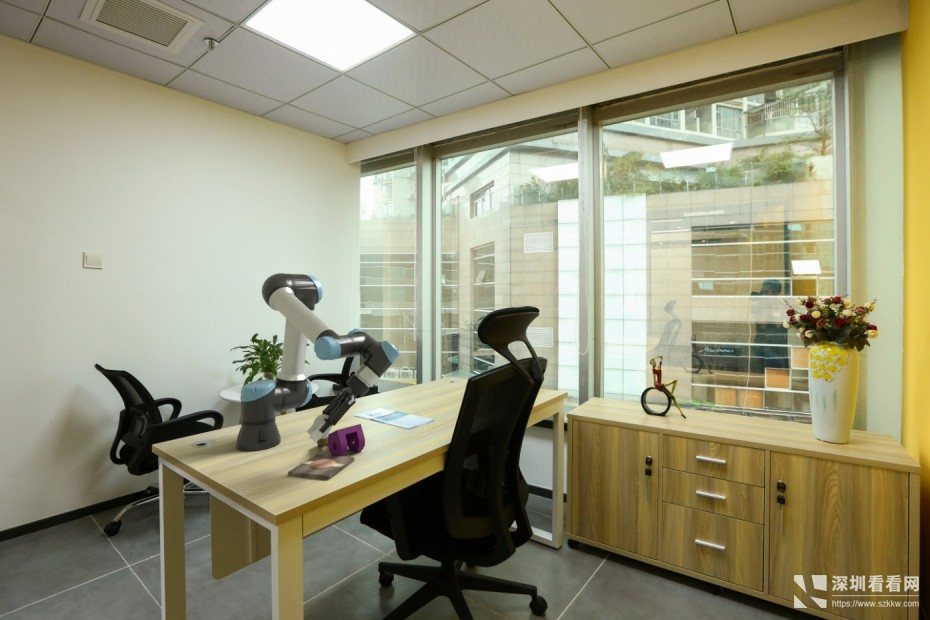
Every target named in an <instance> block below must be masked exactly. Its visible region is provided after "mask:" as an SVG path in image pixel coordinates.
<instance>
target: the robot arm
mask: <svg viewBox="0 0 930 620" xmlns="http://www.w3.org/2000/svg"><path fill="white" fill-rule="evenodd" d="M323 293H324V292H323V288H322V285H321V282H320V281H319V279H318V278H317V277H315V276H314V275H309V274H303V273H301V274H300V273H283V272H278V273H274V274H272V275H270V276H268V277H267V278H266V279H265V280H264V282H263V283H262V286H261V296H262V299H263V300H264V302H265V303H266V305H268V307H269V308H271V309H272V310H273V311H276V312H279V314H281V315H282V316H283V317H284V318H285V325H284V337H283V346H282V357H281V366H280V367H281V368H280V371H279V372H278V373H277V374H276V376H275V380H274V379H269V378H268V379H261V380H260V379H259V380H254V381H251V382H248V383H246V384H244V385H243V386H242V387H241V391H240V397H239V400H240V421H241V422H240V423H241V425H240V428H239V432H238V434H237V439H236V441H235V448H236V449H237V450H239V451H244V452H247V451H249V452H252V451H261V450H266V449H270V448H274V447H276V446H277V445H278V446H279V444H281V442H282V441H281V438H282V437H281V434H280V431H279V428H278V425H277V422H276V413H279V412H280V413H281V412H284V411H289V410H292V409H298V408H301V407H304V406H305V405H306V404H308V403H309V401H311V398H312V396H313V395H312V394H313V385H312V382H311V381H310V380H309V379H308V375H307V374H306V373H305V366H306V365H305V364H306V356H307V355H306V354H307V345H308V340H309V341H310V342H311V343H312V344H313V350H314V351H313V352H314V353H315V356H316V358H317V359H319V360H321V361H335V360H339V359H345V358H352V357H361V358H362V359H363V360H364V362H363V363H362V364H361V365H360V366H359V367H358V368H357V369H356V370H355V371H354V374H352V375H350V377H349V378H348V379H347V380H346V381H345V384H346V385H348V388H346V389H342V390H340V392H339V393H338V394H337V395H336V396H335V398H334V399H332V401H331V402H329V404H328V405H327V406H326V407H325V408H324V409H322V411H321V415H322V414H325V415H328V416H329V417H328V418H327V419H326V418H324V421H323V422H322V423H321V425H320V426H319V427H318V428H317V429H316V430H315V429H314V426H313V424H312V425H311V426H310V427H309V428H308V429H307V430H306V433H307V434H309V439H310V440H312V441H313V442H314V443H317V441H318V440H319V439H320V438H321V437H322V436H323V435H324V433H325V432H326V431H327V430H328V429H329V428H330V427H331V426H332V427H335V426H336V425H337V424H338V422H340V420H341V419H342V418H343V417H344V416H345V415H346V414H347V412H348V411H349V410H350V408H351V407H353V406H355V404H356V403H357V401H356V398H357V396H360V397H362V398H363V397H365V396H366V394H367V393H368V392H369V391H370V387H371V388H372V387H373V386H374V385H375V384H378V382H379V380H380V378H381V377H382V376H383V375H384V374H385V373H386V372H387V371H388V369H390V368H391V366H393V365H394V363H395V362H396V361H397V359H398V358H399V357H400V354H401V353H400V351H399V349H398V348H397V347H396V346H395V345H394V344H392V342H390V341H388V340H387V339H386V340H385V339H384V340H383V341H382V342H381V343H380V342H379V341H378V340H376V339H375V338H373V337H372V336H371V335H370V334H369V333H367V332H366V331H364V330H362V328H361V329H360V328H353V329H352V330H350V331H349V332H347V334H345V335H343V334H342V335H339V334H338V333H337V332H336V331H335V330H333V328H331V327H330V326H329V325H328V324H327V323H326V322H325V321H323V320H322V319H321V318H320V317H319V316H318V315H317V314H315V313H314V311H315V306H316V305H318V304H319V303H320V302H321V301H322V298H323Z"/></svg>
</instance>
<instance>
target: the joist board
mask: <svg viewBox="0 0 930 620" xmlns="http://www.w3.org/2000/svg"><path fill="white" fill-rule="evenodd" d="M354 462H355V457H354V456H346V455H345V456H332V455H331V454H320V453H319V454H315V455H313V456H312V457H310V458H308V459H306V460H304V461H303V462H301V463H299V465H297V466H295V467H294V468H292V469H290V470H289V471H288V472H287V476H288V477H297V478H307V479H317V480H327V481H330V480H331V479H332V478H334V477H335V476H337V475H338V474H340V473H341V471H343V470H344V469H345V468H347V467H348V466H350V465H351V464H352V463H354Z"/></svg>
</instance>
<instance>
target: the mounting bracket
mask: <svg viewBox="0 0 930 620" xmlns="http://www.w3.org/2000/svg"><path fill="white" fill-rule="evenodd" d="M316 443H317V445H316V446H317V448H320V447H323V446H322V445H320V444H319V440H318V441H317V442H316ZM325 446H328V450H329V453H330V455H332V456H345V457H346V455H347V453H348V450H349V451H350V452H353V453H359V452H361V451H363V450H364V448H365V446H366V438H365V435H364V430H363V426H362V423H359V424H355V425H352V426H347V427H344V428H339V429H336V430H334V431H332V432H331V433H330V432H329V435H328V443H327V444H326V445H325Z"/></svg>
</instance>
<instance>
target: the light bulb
mask: <svg viewBox="0 0 930 620" xmlns="http://www.w3.org/2000/svg"><path fill="white" fill-rule="evenodd" d="M328 417H329V416H328V415H325V414H322V413H321V414H319V415H318V416H316V417H315V419H314V420H313V424H312V425H313V426H314V429H315V430H316V429H317V428H318V427H319V426H320V425H321V423H322V422H323V421H324V418H326V419H327V418H328ZM332 427H333V425H332V426H331V427H330V428H329V429H328V430H327V431H326V432H325V433H324V435H323V436H322V437H321V438H320V439H319V444H320V445H322V446H321V447H325V446H327V445H326V444H327V443H328V435H329V434H330V431H331V430H332Z"/></svg>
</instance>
